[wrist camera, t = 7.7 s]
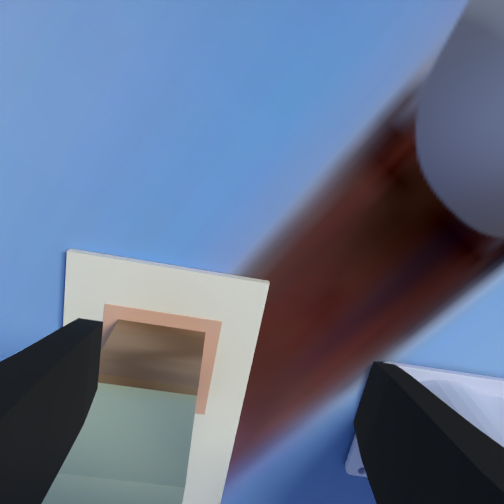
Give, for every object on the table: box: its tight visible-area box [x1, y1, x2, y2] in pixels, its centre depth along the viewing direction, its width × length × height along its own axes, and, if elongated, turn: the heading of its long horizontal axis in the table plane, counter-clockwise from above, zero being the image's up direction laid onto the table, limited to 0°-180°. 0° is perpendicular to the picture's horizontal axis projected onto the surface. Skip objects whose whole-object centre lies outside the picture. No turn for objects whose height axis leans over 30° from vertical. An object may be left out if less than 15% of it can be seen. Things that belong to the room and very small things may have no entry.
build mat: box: [63, 249, 269, 504], centre depth 23 cm, size 10×17×1 cm, turn 169°
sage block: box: [42, 383, 197, 504], centre depth 16 cm, size 4×4×4 cm
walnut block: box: [98, 319, 206, 396], centre depth 20 cm, size 4×4×4 cm
